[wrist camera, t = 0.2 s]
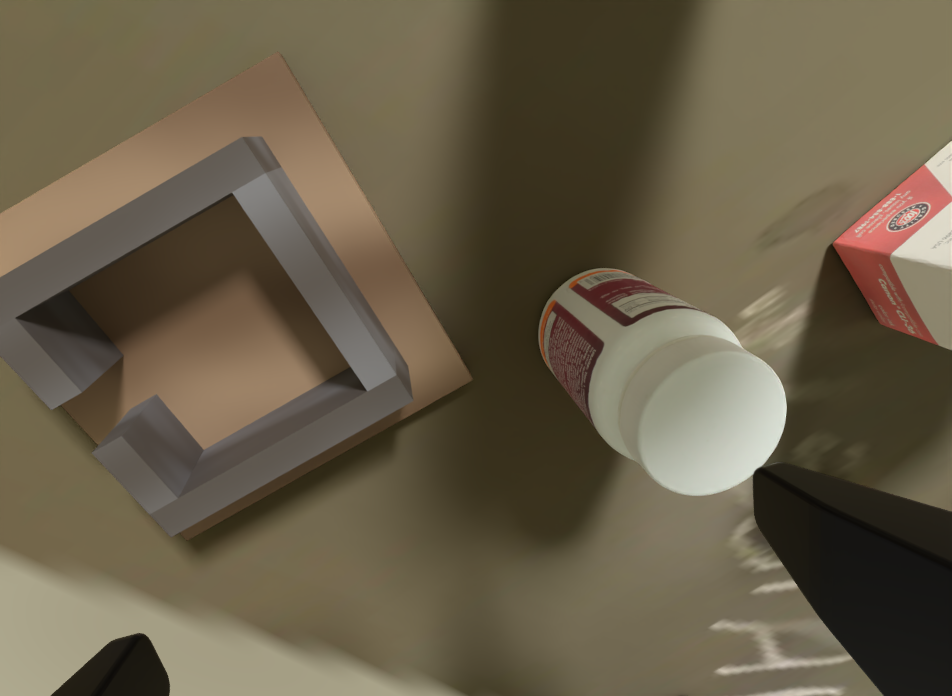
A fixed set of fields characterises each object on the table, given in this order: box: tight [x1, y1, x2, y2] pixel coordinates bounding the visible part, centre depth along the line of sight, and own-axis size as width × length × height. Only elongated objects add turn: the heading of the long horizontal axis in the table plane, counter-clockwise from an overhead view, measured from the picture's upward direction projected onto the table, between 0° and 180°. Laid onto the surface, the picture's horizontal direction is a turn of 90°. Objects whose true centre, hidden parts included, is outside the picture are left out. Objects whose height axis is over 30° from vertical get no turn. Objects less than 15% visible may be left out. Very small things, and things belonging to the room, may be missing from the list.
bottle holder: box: [0, 52, 473, 541], centre depth 19 cm, size 12×12×4 cm
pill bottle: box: [538, 268, 787, 496], centre depth 19 cm, size 5×5×8 cm
